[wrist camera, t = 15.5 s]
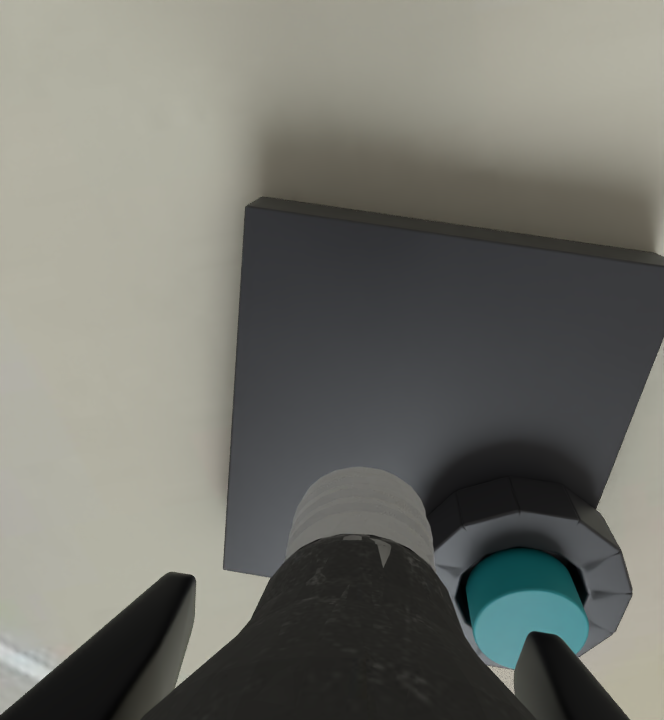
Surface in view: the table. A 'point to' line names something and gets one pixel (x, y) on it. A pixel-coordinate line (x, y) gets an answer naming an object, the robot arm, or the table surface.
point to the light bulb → (350, 624)
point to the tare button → (523, 603)
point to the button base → (440, 386)
